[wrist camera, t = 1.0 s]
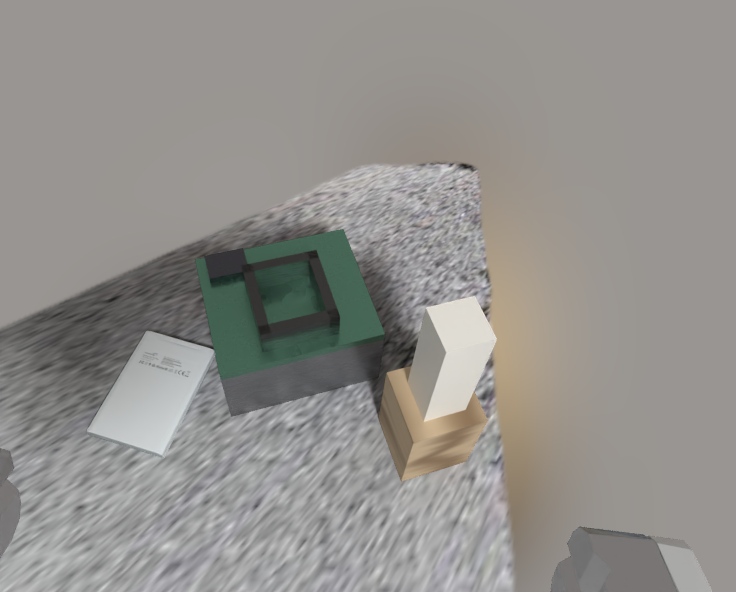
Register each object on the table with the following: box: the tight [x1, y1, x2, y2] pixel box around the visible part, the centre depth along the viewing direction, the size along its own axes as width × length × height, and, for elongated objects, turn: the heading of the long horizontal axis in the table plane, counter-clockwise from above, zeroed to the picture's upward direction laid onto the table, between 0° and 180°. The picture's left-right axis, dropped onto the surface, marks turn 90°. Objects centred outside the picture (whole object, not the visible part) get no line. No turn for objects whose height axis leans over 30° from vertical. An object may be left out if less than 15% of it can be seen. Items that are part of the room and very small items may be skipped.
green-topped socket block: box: [195, 229, 385, 417], centre depth 64 cm, size 16×14×12 cm
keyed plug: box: [408, 296, 497, 422], centre depth 50 cm, size 4×5×12 cm
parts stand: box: [379, 366, 488, 481], centre depth 59 cm, size 7×7×10 cm
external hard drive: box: [86, 331, 215, 458], centre depth 64 cm, size 2×8×12 cm
